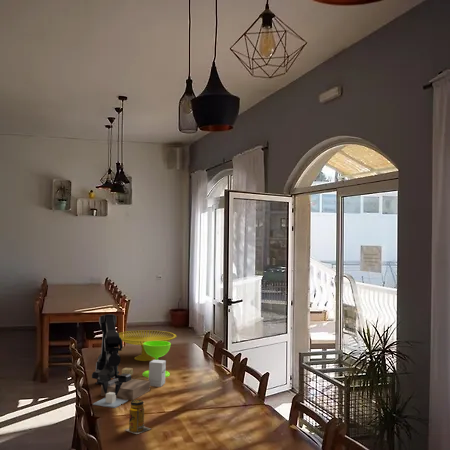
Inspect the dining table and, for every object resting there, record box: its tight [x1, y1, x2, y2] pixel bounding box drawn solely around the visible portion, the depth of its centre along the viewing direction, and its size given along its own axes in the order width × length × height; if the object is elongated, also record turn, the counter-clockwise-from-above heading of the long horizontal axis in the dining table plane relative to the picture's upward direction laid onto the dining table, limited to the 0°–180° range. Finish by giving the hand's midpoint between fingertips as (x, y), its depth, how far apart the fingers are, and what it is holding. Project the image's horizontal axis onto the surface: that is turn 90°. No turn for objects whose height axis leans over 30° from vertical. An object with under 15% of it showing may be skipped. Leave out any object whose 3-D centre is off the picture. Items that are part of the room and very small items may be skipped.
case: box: [100, 378, 151, 401], centre depth 282 cm, size 18×18×6 cm
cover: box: [92, 392, 129, 409], centre depth 266 cm, size 12×12×5 cm
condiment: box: [125, 399, 152, 435], centre depth 230 cm, size 7×8×12 cm
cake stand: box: [118, 329, 177, 362], centre depth 361 cm, size 40×40×15 cm
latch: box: [121, 367, 134, 376], centre depth 294 cm, size 4×4×3 cm
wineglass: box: [141, 341, 172, 379], centre depth 321 cm, size 16×16×18 cm
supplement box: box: [148, 359, 167, 388], centre depth 300 cm, size 7×7×13 cm
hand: (111, 394), depth 266 cm, fingers open, 5 cm apart
